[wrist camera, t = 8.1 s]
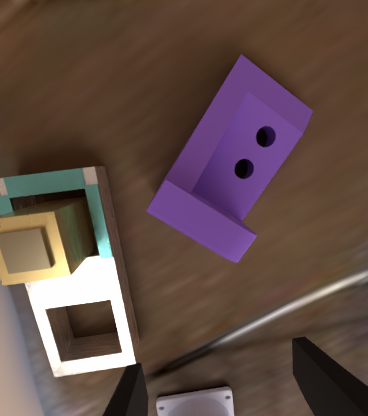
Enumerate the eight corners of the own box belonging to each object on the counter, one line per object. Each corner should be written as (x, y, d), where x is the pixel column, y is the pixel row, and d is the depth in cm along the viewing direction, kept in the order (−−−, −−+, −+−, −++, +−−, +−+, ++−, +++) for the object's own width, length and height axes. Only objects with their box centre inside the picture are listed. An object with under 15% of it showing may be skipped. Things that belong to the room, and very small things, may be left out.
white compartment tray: (139, 340, 21) (135, 366, 18) (68, 351, 21) (53, 379, 18) (105, 165, 17) (93, 166, 15) (17, 176, 17) (-11, 179, 14)
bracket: (220, 233, 19) (245, 270, 13) (155, 193, 18) (145, 211, 12) (301, 115, 18) (380, 86, 11) (234, 63, 17) (278, -3, 10)
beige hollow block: (102, 240, 19) (68, 278, 12) (56, 246, 18) (-2, 288, 12) (92, 195, 18) (50, 212, 12) (44, 201, 18) (-25, 222, 11)
